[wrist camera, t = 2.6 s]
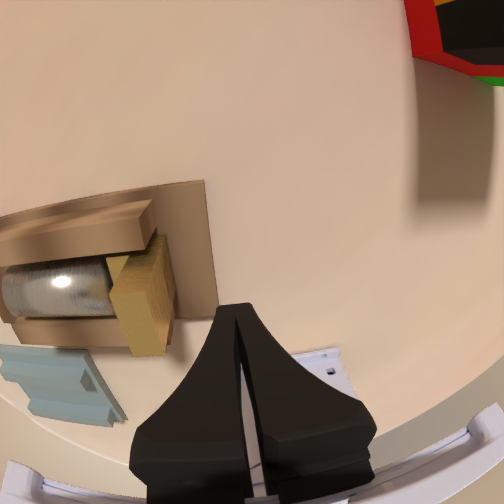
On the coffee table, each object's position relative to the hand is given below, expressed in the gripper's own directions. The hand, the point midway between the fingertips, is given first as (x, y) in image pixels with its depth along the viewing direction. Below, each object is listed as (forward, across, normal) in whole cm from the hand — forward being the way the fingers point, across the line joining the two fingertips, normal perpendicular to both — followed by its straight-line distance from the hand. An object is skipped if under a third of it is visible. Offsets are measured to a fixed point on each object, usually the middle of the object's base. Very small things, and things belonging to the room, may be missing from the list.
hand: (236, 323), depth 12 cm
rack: (+7, +19, +13) cm, 24 cm away
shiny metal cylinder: (+6, +11, 0) cm, 13 cm away
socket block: (+7, +11, 0) cm, 13 cm away
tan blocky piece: (+6, +5, 0) cm, 8 cm away
